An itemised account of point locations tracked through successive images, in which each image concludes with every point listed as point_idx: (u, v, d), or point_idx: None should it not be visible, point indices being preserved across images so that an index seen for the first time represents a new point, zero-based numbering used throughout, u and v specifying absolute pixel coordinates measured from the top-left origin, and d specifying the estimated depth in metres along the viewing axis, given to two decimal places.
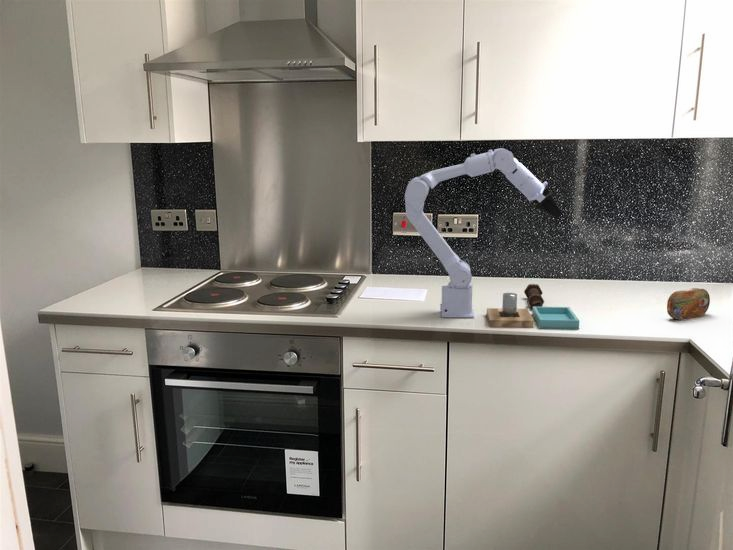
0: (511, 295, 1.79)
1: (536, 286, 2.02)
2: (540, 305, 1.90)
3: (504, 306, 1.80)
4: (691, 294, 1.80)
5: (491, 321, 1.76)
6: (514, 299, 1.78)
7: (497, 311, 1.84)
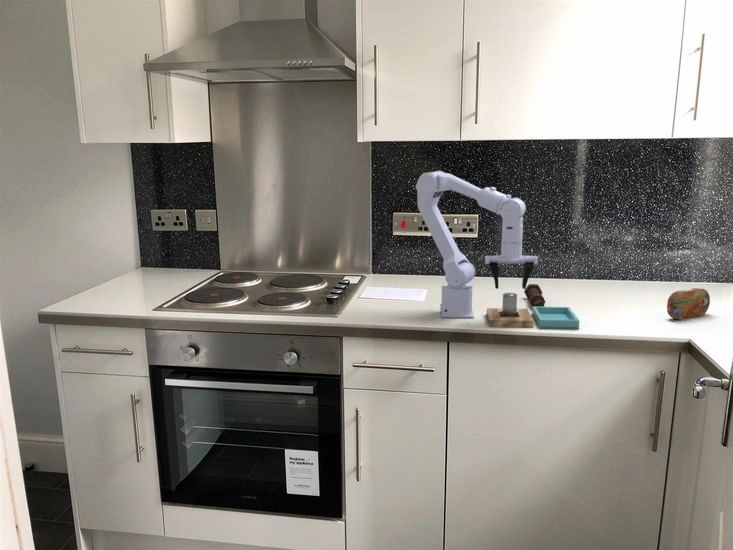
0: (511, 295, 1.79)
1: (536, 286, 2.03)
2: (542, 305, 1.90)
3: (504, 306, 1.80)
4: (691, 294, 1.80)
5: (491, 321, 1.76)
6: (514, 299, 1.78)
7: (497, 311, 1.84)
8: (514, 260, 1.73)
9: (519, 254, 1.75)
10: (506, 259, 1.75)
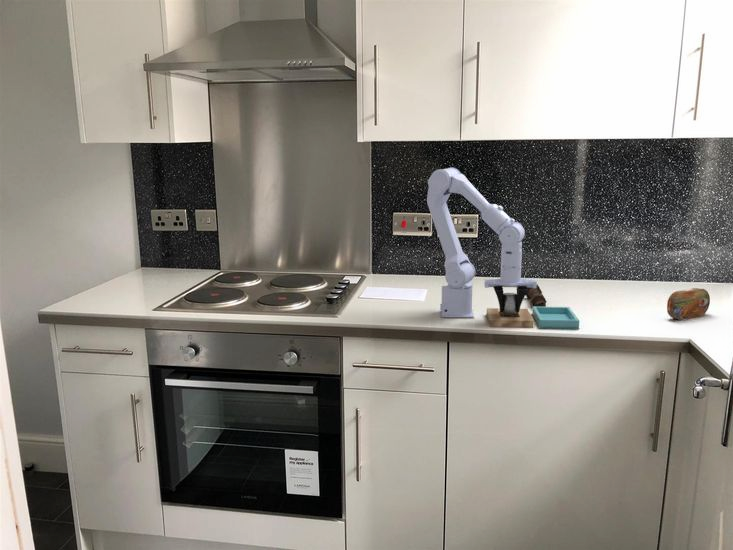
0: (511, 295, 1.79)
1: None
2: (544, 305, 1.90)
3: (504, 306, 1.80)
4: (691, 294, 1.80)
5: (491, 321, 1.76)
6: (514, 299, 1.78)
7: (497, 311, 1.84)
8: (513, 284, 1.75)
9: (518, 278, 1.76)
10: (505, 283, 1.77)
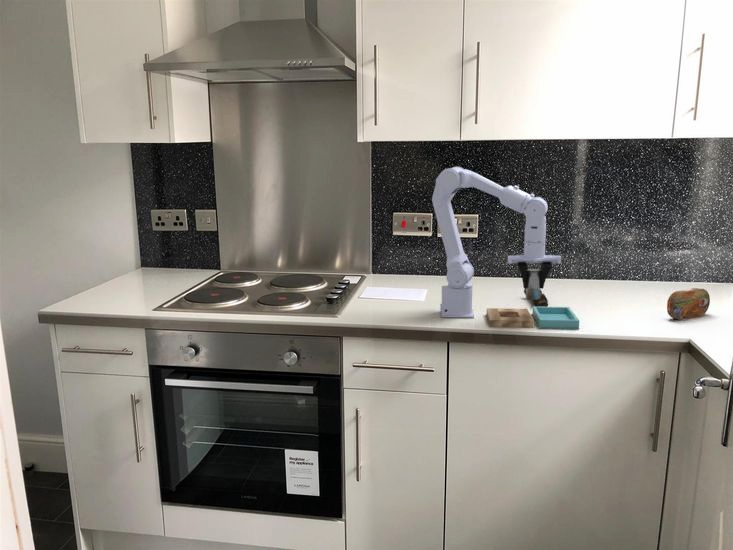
0: (535, 271, 1.76)
1: None
2: (546, 304, 1.91)
3: (528, 282, 1.77)
4: (691, 294, 1.80)
5: (491, 321, 1.76)
6: (538, 275, 1.76)
7: (497, 311, 1.84)
8: (537, 260, 1.73)
9: (542, 254, 1.74)
10: (529, 259, 1.74)
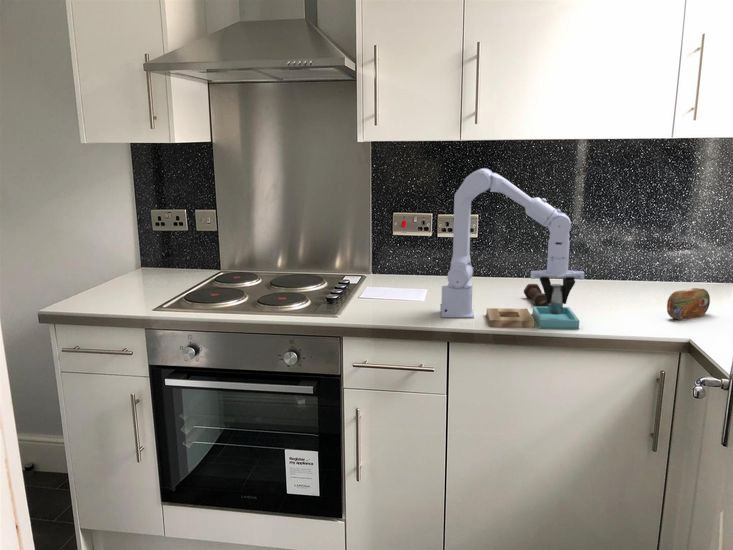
0: (558, 286, 1.77)
1: (536, 286, 2.03)
2: (547, 305, 1.91)
3: (551, 297, 1.78)
4: (691, 294, 1.80)
5: (491, 321, 1.76)
6: (561, 290, 1.76)
7: (497, 311, 1.84)
8: (561, 275, 1.73)
9: (566, 269, 1.74)
10: (553, 274, 1.75)
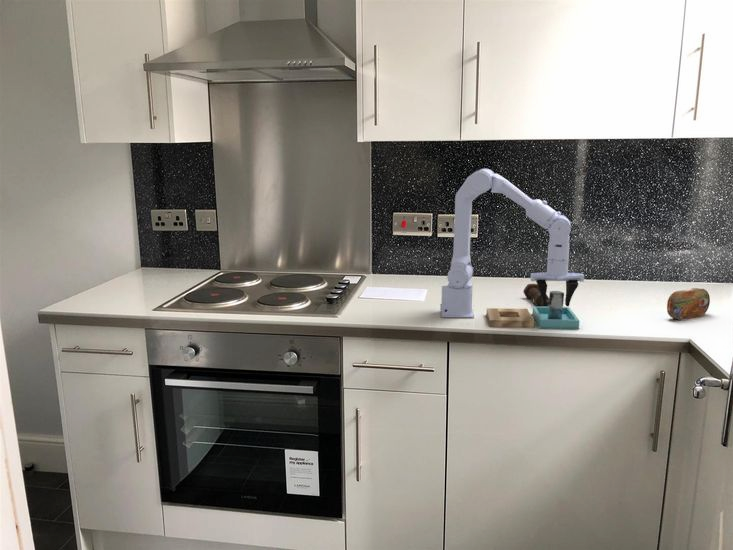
0: (558, 294, 1.77)
1: (535, 285, 2.03)
2: None
3: (551, 304, 1.78)
4: (691, 294, 1.80)
5: (491, 321, 1.76)
6: (561, 298, 1.77)
7: (497, 311, 1.84)
8: (561, 278, 1.73)
9: (566, 272, 1.75)
10: (552, 277, 1.75)
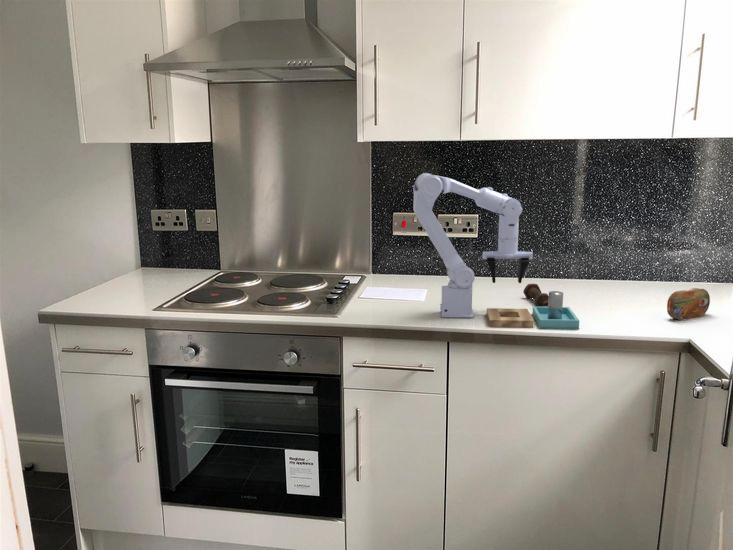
0: (557, 293, 1.77)
1: (535, 285, 2.03)
2: None
3: (550, 305, 1.78)
4: (691, 294, 1.80)
5: (491, 321, 1.76)
6: (561, 297, 1.77)
7: (497, 311, 1.84)
8: (510, 255, 1.82)
9: (515, 250, 1.84)
10: (502, 255, 1.84)
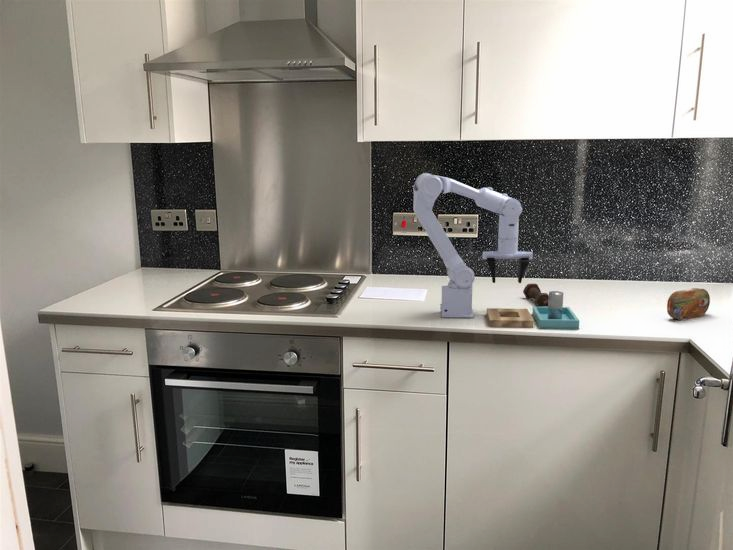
0: (558, 293, 1.77)
1: (535, 285, 2.04)
2: None
3: (550, 304, 1.78)
4: (691, 294, 1.80)
5: (491, 321, 1.76)
6: (561, 297, 1.77)
7: (497, 311, 1.84)
8: (510, 255, 1.82)
9: (515, 250, 1.84)
10: (502, 255, 1.84)
